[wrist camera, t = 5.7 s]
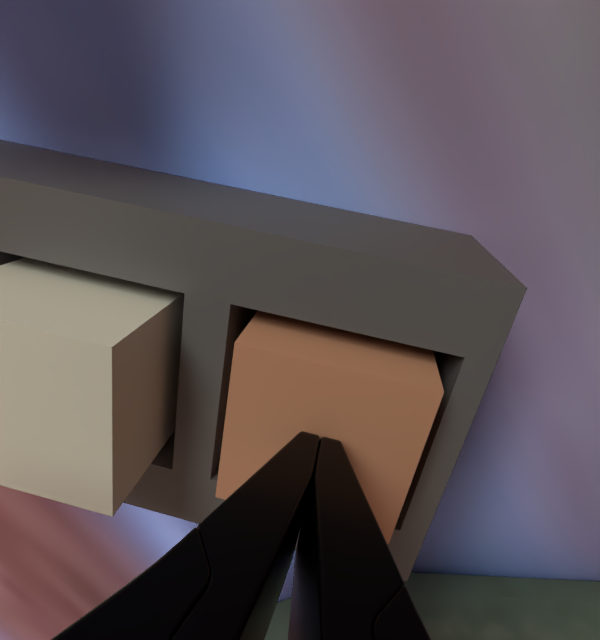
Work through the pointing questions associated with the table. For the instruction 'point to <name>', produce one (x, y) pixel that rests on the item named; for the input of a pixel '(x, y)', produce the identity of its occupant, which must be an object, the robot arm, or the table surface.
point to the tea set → (492, 608)
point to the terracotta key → (330, 404)
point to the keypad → (265, 298)
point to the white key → (84, 381)
